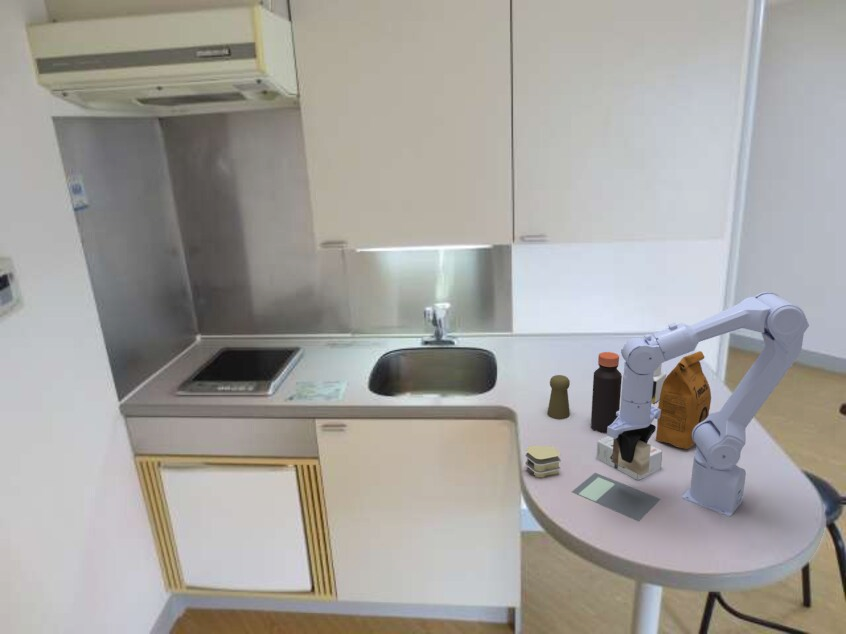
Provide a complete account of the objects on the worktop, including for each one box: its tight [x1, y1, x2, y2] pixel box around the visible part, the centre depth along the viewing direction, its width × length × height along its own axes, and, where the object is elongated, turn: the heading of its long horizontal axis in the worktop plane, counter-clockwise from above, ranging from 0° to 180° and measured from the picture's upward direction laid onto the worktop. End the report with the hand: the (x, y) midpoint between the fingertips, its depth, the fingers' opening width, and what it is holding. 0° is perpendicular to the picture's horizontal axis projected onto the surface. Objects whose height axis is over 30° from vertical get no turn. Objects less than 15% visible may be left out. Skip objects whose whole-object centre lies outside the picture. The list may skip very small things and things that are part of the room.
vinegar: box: [590, 351, 623, 434], centre depth 150 cm, size 7×7×20 cm
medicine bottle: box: [651, 363, 667, 404], centre depth 168 cm, size 7×7×12 cm
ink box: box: [596, 435, 663, 481], centre depth 136 cm, size 9×5×12 cm
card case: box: [612, 439, 652, 475], centre depth 122 cm, size 7×3×6 cm, turn 35°
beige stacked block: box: [525, 445, 562, 478], centre depth 134 cm, size 10×9×6 cm
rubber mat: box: [571, 472, 661, 522], centre depth 125 cm, size 15×10×1 cm, turn 45°
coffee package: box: [655, 350, 712, 450], centre depth 143 cm, size 10×12×22 cm
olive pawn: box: [546, 374, 571, 420], centre depth 160 cm, size 6×6×11 cm
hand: (631, 458), depth 122 cm, fingers closed on card case, 2 cm apart
